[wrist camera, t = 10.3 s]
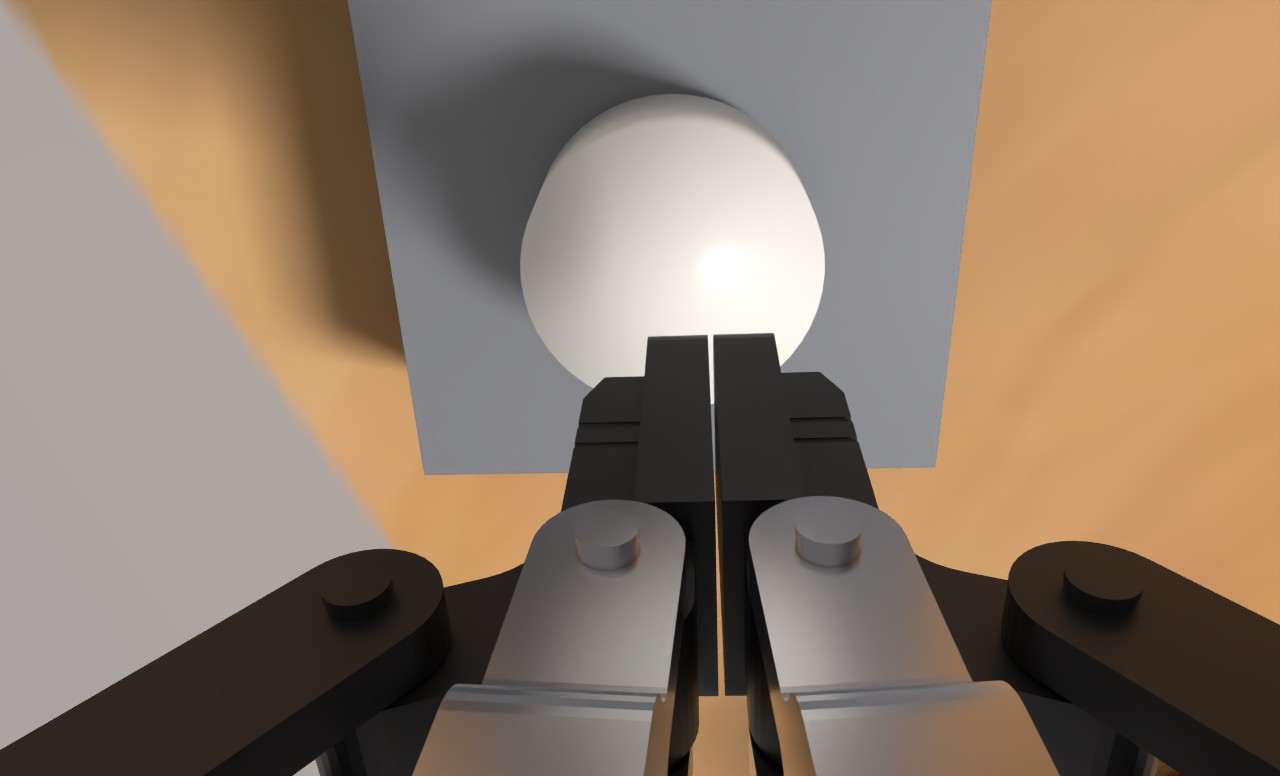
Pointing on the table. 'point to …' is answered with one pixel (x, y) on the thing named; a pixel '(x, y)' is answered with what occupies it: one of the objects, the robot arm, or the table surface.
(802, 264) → the knob
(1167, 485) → the table surface
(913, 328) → the mount
